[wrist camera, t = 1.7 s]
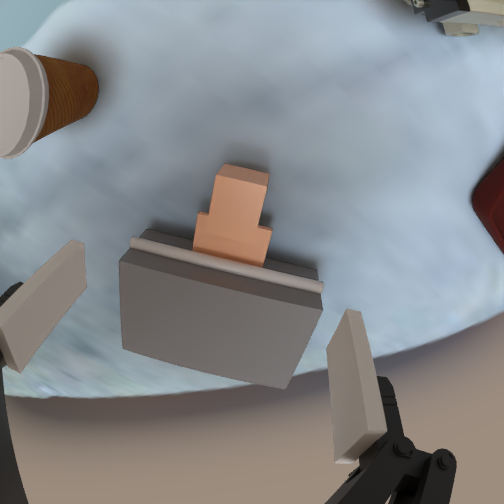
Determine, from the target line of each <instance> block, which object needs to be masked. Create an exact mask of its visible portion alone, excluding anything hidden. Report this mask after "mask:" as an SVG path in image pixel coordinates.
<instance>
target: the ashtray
mask: <svg viewBox="0 0 504 504" xmlns="http://www.w3.org/2000/svg"><path fill="white" fill-rule="evenodd" d="M473 208H474V211H475V212H476V214H477V216H478V217H479V219H480V220H481V222H482V224H483V225H484V226H485V228H486V229H487V231H488V232H489V234H490V235H491V236H492V238H493V240H494V241H495V243H496V244H497V245H498V247H499V248H500V250H501V251H502V252H503V254H504V158H503V159H502V160H501V161H500V163H499V164H498V165H497V166H496V167H495V168H494V169H493V170H492V171H491V172H490V173H489V174H488V175H487V176H486V178H485V179H484V180H483V181H482V182H481V184H480V185H479V186H478V187H477V189H476V191H475V193H474V196H473Z"/></svg>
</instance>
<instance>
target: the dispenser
mask: <svg viewBox="0 0 504 504" xmlns="http://www.w3.org/2000/svg"><path fill="white" fill-rule="evenodd" d="M193 242H194V240H190V239H186V238H181V237H177V236H173V235H169V234H165V233H161V232H157V231H152V230H148V229H146V230H145V231H144V233H143V234H142V235H141V236H140V238H139V237H135V236H133V237H132V238H131V240H130V249H129V250H128V251H127V252H126V253H125V254H124V256H123V257H122V258H121V259H120V260H119V286H120V314H121V332H122V346H123V349H125V350H128V351H131V352H134V353H138V354H141V355H144V356H147V357H151V358H154V359H157V360H161V361H164V362H168V363H171V364H175V365H178V366H182V367H186V368H190V369H193V370H197V371H201V372H205V373H209V374H214V375H218V376H222V377H226V378H231V379H235V380H240V381H245V382H250V383H255V384H260V385H265V386H271V387H276V388H282V389H286V387H287V385H288V383H289V381H290V379H291V377H292V375H293V373H294V371H295V369H296V367H297V365H298V363H299V361H300V359H301V357H302V355H303V353H304V350H305V348H306V346H307V344H308V342H309V340H310V338H311V336H312V333H313V331H314V329H315V327H316V325H317V322H318V320H319V318H320V316H321V313H322V311H323V307H322V300H321V293H322V290H323V286H324V283H323V282H321V281H318V273H317V270H315V269H311V268H307V267H302V266H298V265H294V264H290V263H286V262H281V261H277V260H273V259H269V258H265V260H264V263H263V267H262V268H261V267H257V266H253V265H249V264H245V263H241V262H236V261H232V260H228V259H224V258H220V257H216V256H212V255H207V254H203V253H199V252H195V251H192V248H193Z"/></svg>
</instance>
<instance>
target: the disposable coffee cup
mask: <svg viewBox="0 0 504 504" xmlns="http://www.w3.org/2000/svg"><path fill="white" fill-rule="evenodd" d="M98 91H99V86H98V80H97V77H96V75H95V73H94V72H93V71H92V70H91V69H90V68H89V67H87V66H85V65H82V64H77V63H73V62H68V61H64V60H60V59H55V58H50V57H46V56H41V55H35V54H32V52H30V51H28V50H27V49H24V48H21V47H13V48H9V49H6V50H4V51H2V52H1V53H0V158H4V159H12V158H15V157H17V156H19V155H21V154H22V153H24V152H25V151H26V150H27V149H28V148H29V147H30V146H31V144H32V143H34V142H36V141H38V140H39V139H41V138H43V137H45V136H47V135H49V134H51V133H53V132H54V131H57V130H58V129H60V128H63V127H64V126H67V125H68V124H71V123H73V122H75V121H77V120H79V119H81V118H83V117H85V116H86V115H87V114H88V113H90V111H91V110H92V109H93V107H94V105H95V103H96V101H97V98H98Z"/></svg>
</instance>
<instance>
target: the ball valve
mask: <svg viewBox="0 0 504 504" xmlns="http://www.w3.org/2000/svg"><path fill="white" fill-rule="evenodd" d="M405 2H406V3H407V4H409V5H411V6H413V9H414V12H415V14H425V16H426V19H427V21H428V22H439V23H443V26H444V30H445V33H446V35H447V36H473V35H478V34H479V29H478V26H477V24H480V25H489V26H498V27H504V0H405Z"/></svg>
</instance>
